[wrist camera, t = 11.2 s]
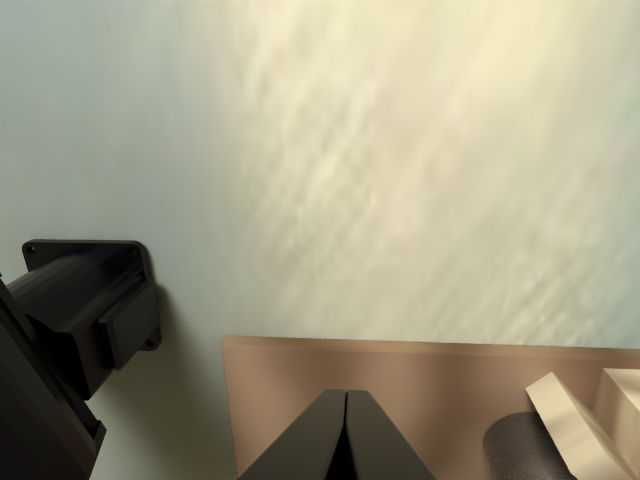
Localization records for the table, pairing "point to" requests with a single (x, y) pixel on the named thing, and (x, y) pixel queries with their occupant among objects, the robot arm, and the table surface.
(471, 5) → the table surface
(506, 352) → the board
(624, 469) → the v block
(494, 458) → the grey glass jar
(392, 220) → the table surface
